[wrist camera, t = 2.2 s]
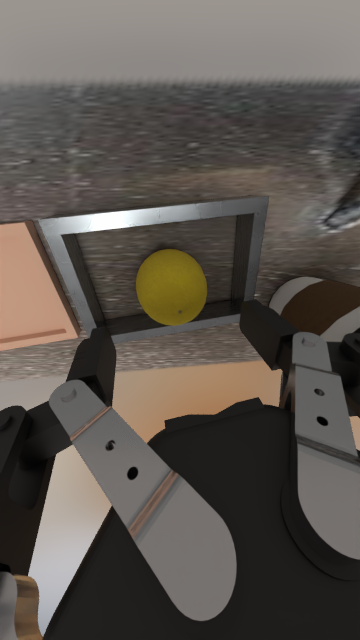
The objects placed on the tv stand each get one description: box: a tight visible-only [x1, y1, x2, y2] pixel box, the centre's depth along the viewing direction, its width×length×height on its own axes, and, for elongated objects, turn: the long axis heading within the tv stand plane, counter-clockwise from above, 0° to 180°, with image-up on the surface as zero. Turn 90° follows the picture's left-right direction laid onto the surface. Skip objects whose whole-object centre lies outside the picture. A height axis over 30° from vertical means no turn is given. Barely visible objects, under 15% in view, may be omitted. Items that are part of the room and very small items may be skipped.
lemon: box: [136, 249, 207, 326], centre depth 16 cm, size 6×6×8 cm
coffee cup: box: [269, 277, 360, 416], centre depth 19 cm, size 11×11×12 cm
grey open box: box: [38, 195, 269, 344], centre depth 18 cm, size 16×11×3 cm
